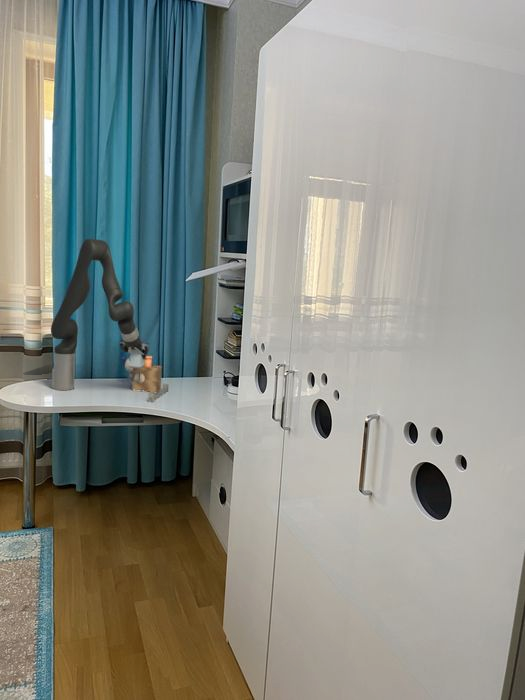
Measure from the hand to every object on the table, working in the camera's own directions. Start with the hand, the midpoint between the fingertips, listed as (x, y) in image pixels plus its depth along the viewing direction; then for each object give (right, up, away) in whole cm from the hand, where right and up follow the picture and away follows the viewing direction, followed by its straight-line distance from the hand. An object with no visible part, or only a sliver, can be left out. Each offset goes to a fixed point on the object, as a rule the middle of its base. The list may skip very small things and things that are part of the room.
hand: (138, 356), depth 281 cm
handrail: (+10, -19, -2) cm, 21 cm away
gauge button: (+2, -8, +8) cm, 12 cm away
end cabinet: (+2, -16, +10) cm, 19 cm away
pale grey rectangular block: (-1, -5, -1) cm, 5 cm away
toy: (-7, -14, +20) cm, 25 cm away
